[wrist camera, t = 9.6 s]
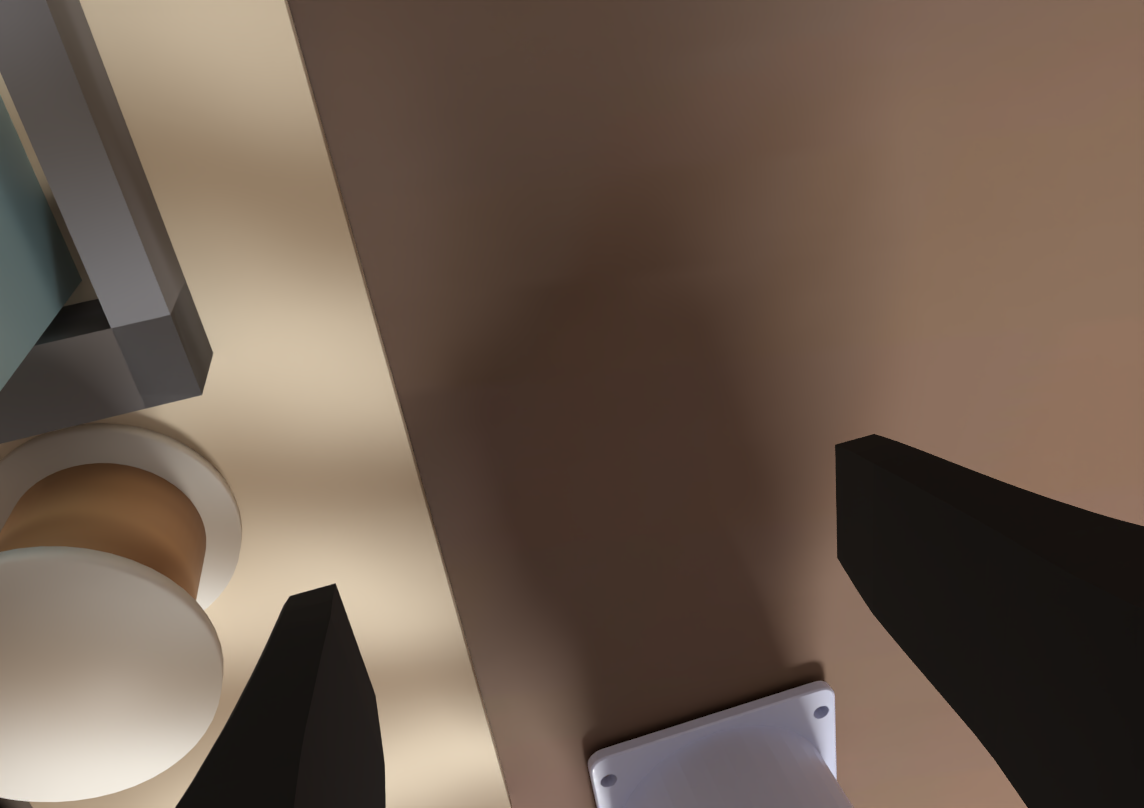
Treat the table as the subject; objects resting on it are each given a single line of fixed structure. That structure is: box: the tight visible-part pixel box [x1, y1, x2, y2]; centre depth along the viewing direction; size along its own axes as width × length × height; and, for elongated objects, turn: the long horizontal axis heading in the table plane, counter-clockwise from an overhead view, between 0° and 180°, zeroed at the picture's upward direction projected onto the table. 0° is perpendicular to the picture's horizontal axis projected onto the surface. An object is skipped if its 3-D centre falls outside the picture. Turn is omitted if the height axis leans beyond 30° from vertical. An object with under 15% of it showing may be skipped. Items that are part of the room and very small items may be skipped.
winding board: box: [0, 0, 512, 808], centre depth 18 cm, size 26×11×6 cm, turn 9°
